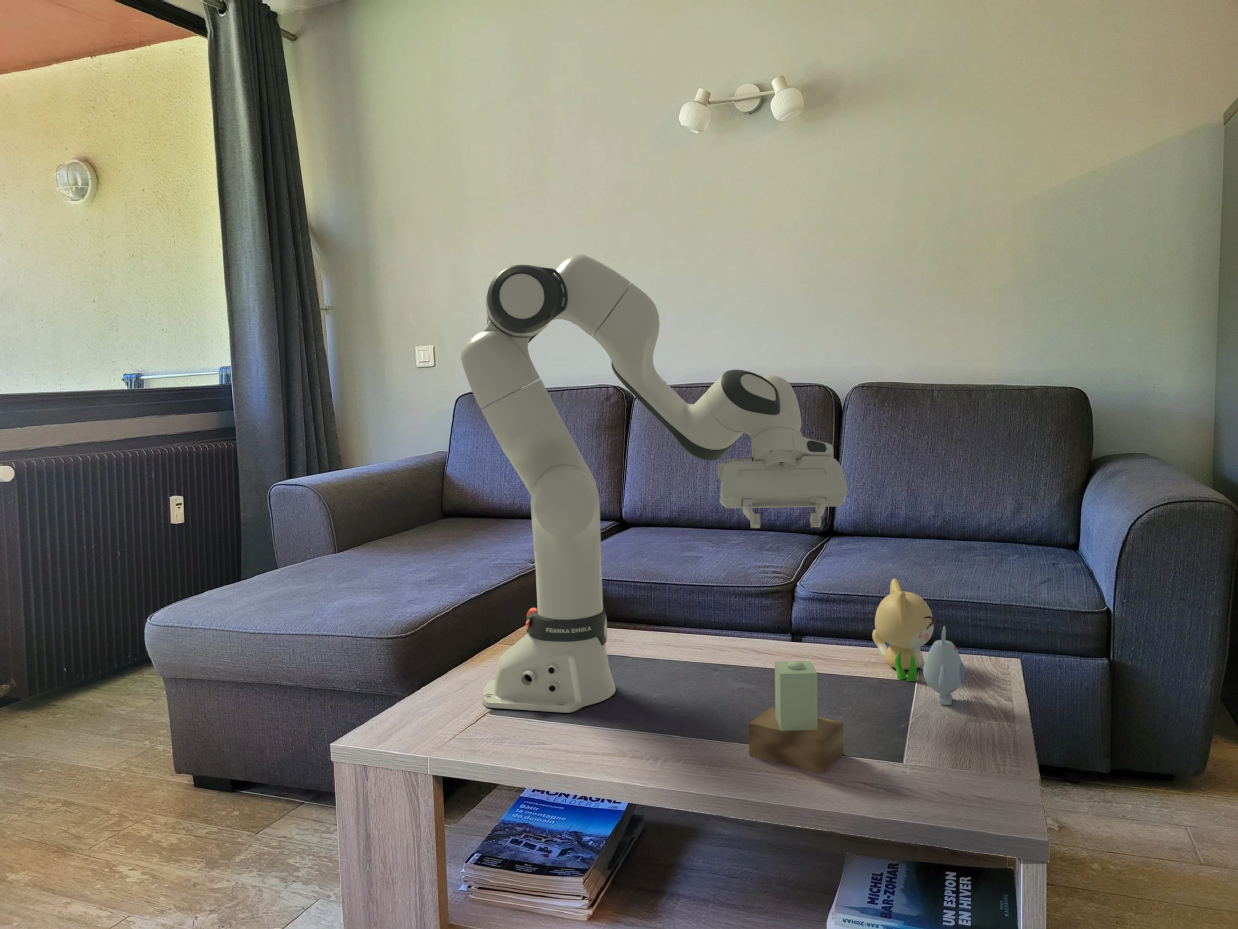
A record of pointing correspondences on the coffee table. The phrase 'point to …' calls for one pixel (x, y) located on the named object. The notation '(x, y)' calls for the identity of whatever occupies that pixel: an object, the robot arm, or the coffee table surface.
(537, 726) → the coffee table surface
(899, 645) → the kitten
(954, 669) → the toy figure
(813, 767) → the base brick
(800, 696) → the green brick
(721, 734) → the coffee table surface
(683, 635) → the coffee table surface
